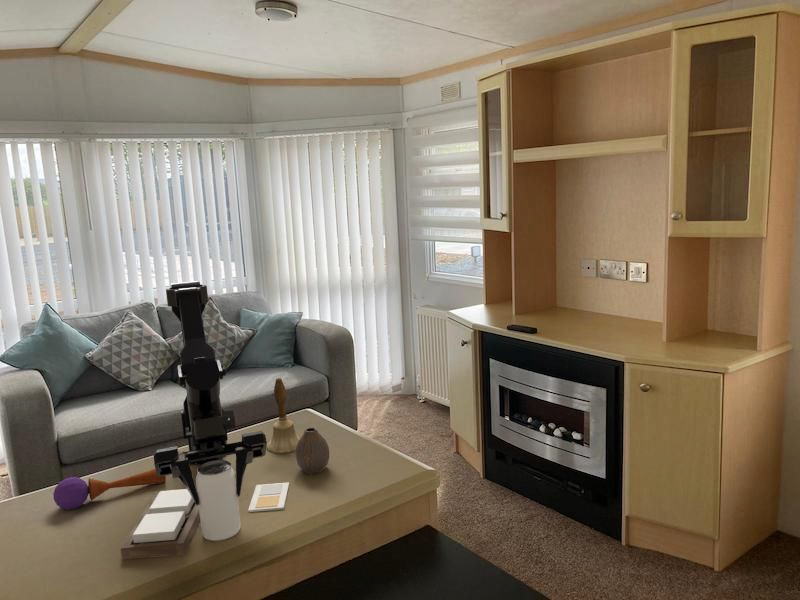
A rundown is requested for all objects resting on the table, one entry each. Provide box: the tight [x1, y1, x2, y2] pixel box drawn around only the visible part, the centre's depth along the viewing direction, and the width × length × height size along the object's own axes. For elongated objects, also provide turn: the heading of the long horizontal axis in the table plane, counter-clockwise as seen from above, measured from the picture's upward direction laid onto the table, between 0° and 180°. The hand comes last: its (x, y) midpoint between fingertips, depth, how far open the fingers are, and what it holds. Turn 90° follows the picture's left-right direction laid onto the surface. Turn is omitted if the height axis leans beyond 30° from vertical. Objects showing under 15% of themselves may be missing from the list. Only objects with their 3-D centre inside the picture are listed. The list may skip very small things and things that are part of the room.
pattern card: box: [247, 481, 290, 513], centre depth 124 cm, size 10×6×1 cm, turn 4°
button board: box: [120, 495, 201, 560], centre depth 114 cm, size 18×10×2 cm, turn 4°
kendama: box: [52, 468, 167, 511], centre depth 128 cm, size 6×6×20 cm
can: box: [195, 459, 242, 542], centre depth 111 cm, size 6×6×12 cm
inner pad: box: [149, 488, 197, 515], centre depth 118 cm, size 7×7×2 cm
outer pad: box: [133, 511, 186, 544], centre depth 110 cm, size 7×7×2 cm
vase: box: [295, 427, 330, 475], centre depth 134 cm, size 7×7×9 cm
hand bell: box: [266, 377, 301, 454], centre depth 146 cm, size 8×8×16 cm
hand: (218, 500), depth 110 cm, fingers closed on can, 6 cm apart
